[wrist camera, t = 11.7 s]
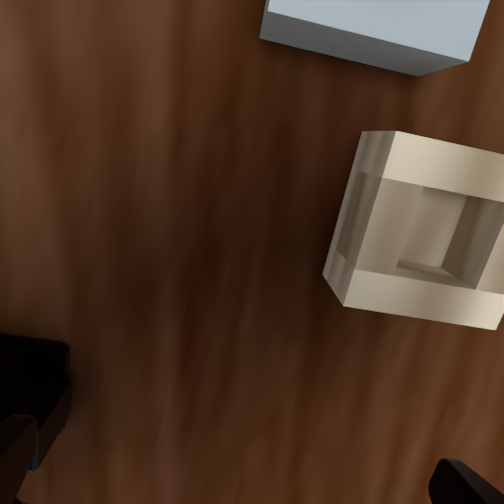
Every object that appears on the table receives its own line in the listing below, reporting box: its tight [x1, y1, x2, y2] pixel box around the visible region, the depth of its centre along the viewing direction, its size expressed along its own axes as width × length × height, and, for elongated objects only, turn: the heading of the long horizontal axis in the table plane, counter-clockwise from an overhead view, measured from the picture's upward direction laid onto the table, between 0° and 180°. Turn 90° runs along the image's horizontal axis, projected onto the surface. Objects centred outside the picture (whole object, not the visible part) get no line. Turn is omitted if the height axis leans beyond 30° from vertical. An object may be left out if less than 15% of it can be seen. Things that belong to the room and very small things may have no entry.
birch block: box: [322, 131, 504, 330], centre depth 18 cm, size 8×8×4 cm
